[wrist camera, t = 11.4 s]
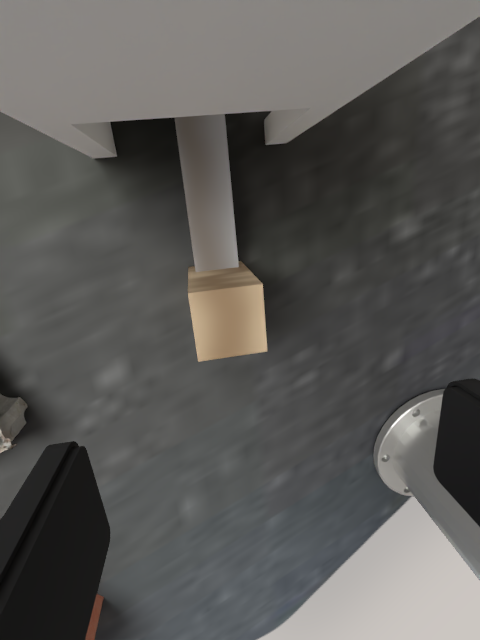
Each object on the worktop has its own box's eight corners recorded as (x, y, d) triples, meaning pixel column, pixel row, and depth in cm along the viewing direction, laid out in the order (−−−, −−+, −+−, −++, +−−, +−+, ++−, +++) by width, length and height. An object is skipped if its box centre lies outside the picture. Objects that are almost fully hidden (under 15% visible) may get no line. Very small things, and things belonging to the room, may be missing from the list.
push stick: (221, 45, 20) (239, -49, 13) (245, 310, 26) (267, 351, 19) (156, 48, 20) (137, -47, 13) (195, 316, 26) (198, 361, 18)
